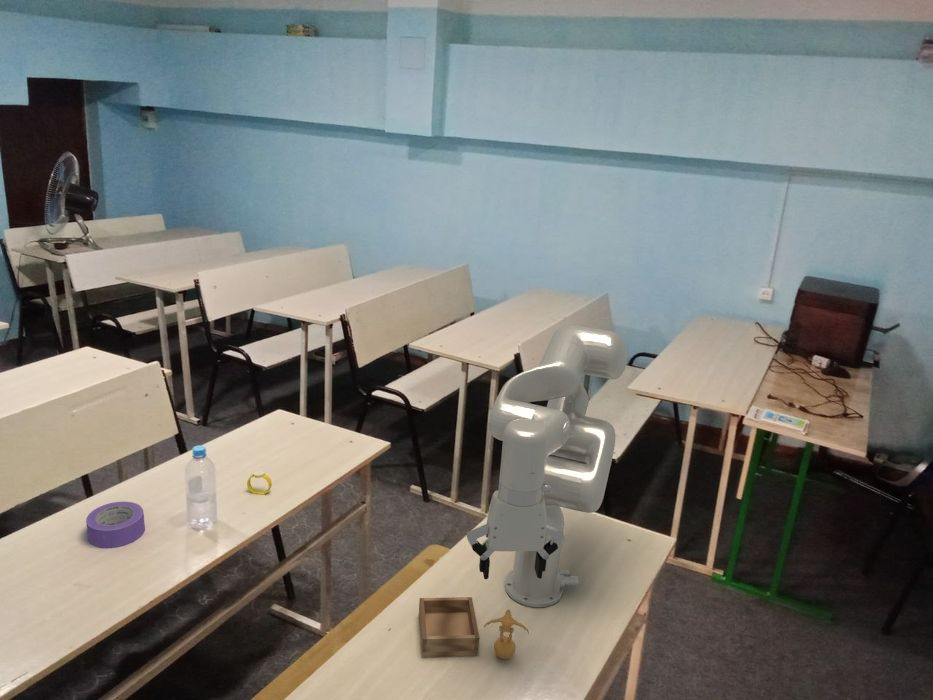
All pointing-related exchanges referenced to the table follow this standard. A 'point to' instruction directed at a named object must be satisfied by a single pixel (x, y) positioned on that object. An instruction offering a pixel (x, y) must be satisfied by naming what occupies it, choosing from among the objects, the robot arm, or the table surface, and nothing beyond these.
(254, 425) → the table surface
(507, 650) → the figurine
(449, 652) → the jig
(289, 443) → the table surface
